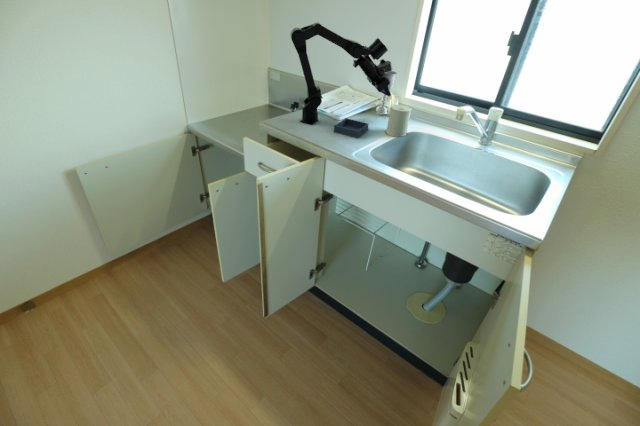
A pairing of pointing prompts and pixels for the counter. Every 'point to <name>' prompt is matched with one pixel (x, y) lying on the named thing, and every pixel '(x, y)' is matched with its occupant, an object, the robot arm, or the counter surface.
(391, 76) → the chalice
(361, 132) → the bin
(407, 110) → the can
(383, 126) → the counter surface
